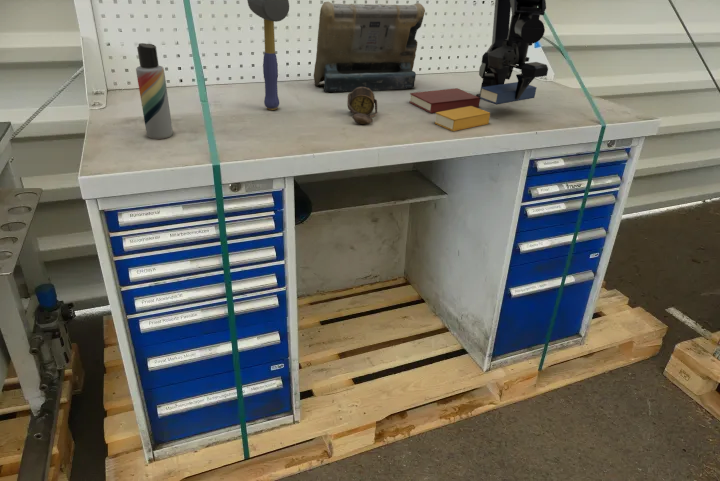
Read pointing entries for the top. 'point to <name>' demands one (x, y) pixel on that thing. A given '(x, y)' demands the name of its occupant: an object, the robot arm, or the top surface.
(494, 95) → the middle book
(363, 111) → the brown round dial piece
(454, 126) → the top book
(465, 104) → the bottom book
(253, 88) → the top surface
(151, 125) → the lotion bottle
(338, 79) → the tablet
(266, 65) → the rubber mallet
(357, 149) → the top surface
